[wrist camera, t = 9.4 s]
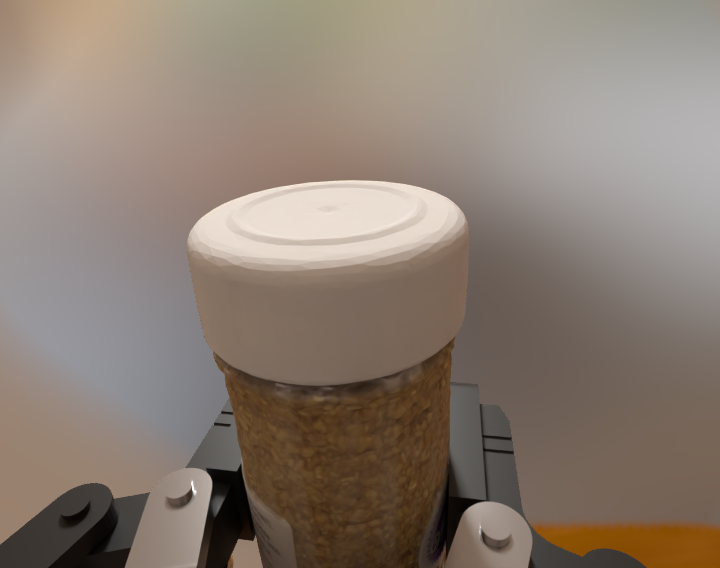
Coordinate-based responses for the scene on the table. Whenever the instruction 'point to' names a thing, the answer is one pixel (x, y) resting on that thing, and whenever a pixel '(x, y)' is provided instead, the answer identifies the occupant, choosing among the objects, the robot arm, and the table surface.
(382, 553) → the sprinkles bottle
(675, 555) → the table surface
